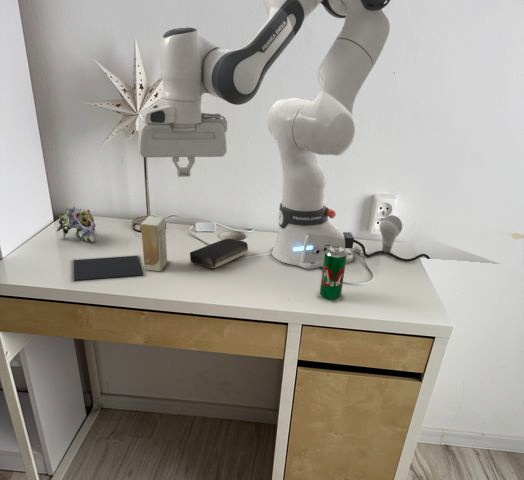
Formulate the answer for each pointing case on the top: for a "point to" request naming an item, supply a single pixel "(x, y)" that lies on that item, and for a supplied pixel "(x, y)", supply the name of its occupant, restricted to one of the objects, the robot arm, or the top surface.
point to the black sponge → (219, 253)
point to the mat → (106, 268)
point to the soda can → (333, 272)
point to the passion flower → (78, 223)
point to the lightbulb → (390, 231)
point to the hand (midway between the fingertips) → (183, 176)
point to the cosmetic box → (154, 243)
